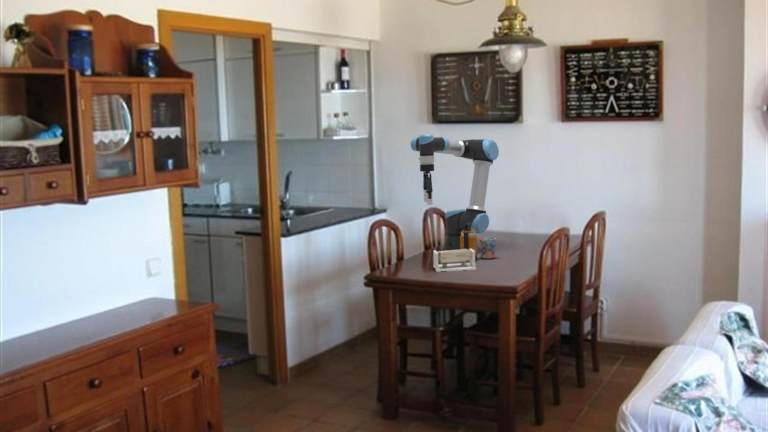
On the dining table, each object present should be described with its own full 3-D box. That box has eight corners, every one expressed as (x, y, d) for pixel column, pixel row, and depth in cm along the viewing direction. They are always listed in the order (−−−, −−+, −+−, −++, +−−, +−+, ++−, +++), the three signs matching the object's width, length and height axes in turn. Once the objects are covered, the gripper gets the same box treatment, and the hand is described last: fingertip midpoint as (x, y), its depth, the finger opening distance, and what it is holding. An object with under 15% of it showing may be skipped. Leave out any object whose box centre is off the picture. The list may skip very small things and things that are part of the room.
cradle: (433, 266, 415) (432, 249, 414) (471, 264, 416) (470, 247, 415) (436, 272, 401) (436, 254, 400) (476, 270, 402) (475, 252, 401)
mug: (493, 259, 427) (493, 240, 426) (477, 259, 431) (476, 239, 430) (500, 255, 438) (500, 236, 437) (484, 255, 442) (483, 236, 441)
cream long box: (437, 261, 409) (437, 251, 408) (466, 258, 413) (466, 248, 412) (441, 263, 403) (441, 253, 402) (470, 260, 407) (470, 250, 406)
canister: (478, 258, 434) (478, 221, 431) (474, 262, 423) (473, 224, 421) (462, 257, 437) (461, 221, 434) (458, 261, 426) (457, 224, 424)
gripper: (417, 162, 434) (418, 201, 437) (422, 165, 409) (424, 206, 412) (430, 162, 434) (432, 200, 437) (437, 164, 410) (438, 205, 412)
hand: (428, 203), depth 424 cm, fingers open, 13 cm apart
